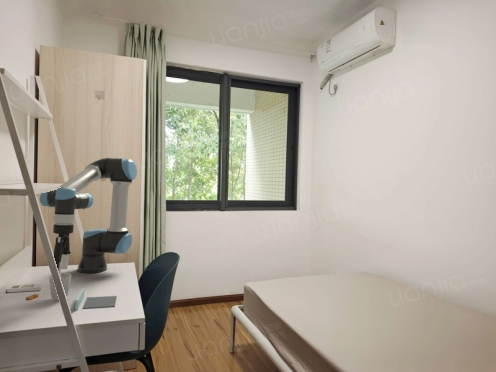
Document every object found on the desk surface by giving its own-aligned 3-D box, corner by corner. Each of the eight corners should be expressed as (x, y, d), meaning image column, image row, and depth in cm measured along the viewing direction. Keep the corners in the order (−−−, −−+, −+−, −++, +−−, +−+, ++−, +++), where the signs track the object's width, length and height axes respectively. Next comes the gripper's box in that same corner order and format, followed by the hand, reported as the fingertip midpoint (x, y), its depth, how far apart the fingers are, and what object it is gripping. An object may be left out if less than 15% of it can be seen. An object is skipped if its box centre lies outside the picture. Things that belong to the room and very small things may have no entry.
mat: (87, 298, 140) (87, 297, 140) (116, 296, 144) (116, 295, 144) (82, 308, 128) (82, 307, 128) (114, 306, 132) (114, 305, 132)
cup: (74, 297, 140) (75, 274, 140) (57, 303, 132) (59, 279, 132) (60, 294, 142) (62, 272, 142) (43, 300, 135) (45, 276, 135)
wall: (81, 297, 140) (81, 288, 140) (83, 297, 140) (84, 288, 140) (75, 310, 127) (75, 300, 127) (77, 310, 127) (78, 300, 127)
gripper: (60, 220, 148) (57, 266, 147) (45, 227, 124) (41, 281, 124) (78, 220, 150) (75, 265, 150) (67, 227, 126) (63, 281, 126)
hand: (60, 273), depth 137 cm, fingers open, 13 cm apart
